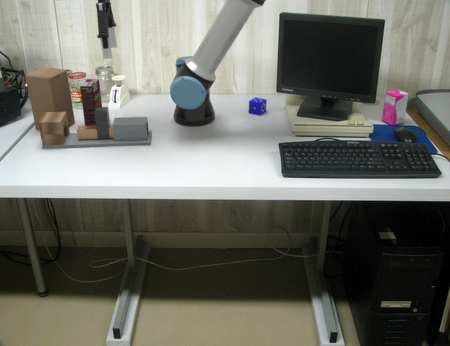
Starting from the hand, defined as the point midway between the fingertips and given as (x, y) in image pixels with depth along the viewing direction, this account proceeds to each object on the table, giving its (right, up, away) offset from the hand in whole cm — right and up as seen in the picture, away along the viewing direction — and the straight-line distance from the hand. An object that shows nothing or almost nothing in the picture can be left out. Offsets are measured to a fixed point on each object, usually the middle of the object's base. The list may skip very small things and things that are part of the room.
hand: (110, 52), depth 162 cm
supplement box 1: (-10, -22, +19) cm, 31 cm away
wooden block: (-24, -22, +19) cm, 38 cm away
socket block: (-20, -28, +6) cm, 35 cm away
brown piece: (-1, -27, +7) cm, 28 cm away
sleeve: (+5, -27, +8) cm, 29 cm away
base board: (-6, -28, +7) cm, 29 cm away
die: (+49, -16, +30) cm, 60 cm away
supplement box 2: (+98, -21, +21) cm, 102 cm away
